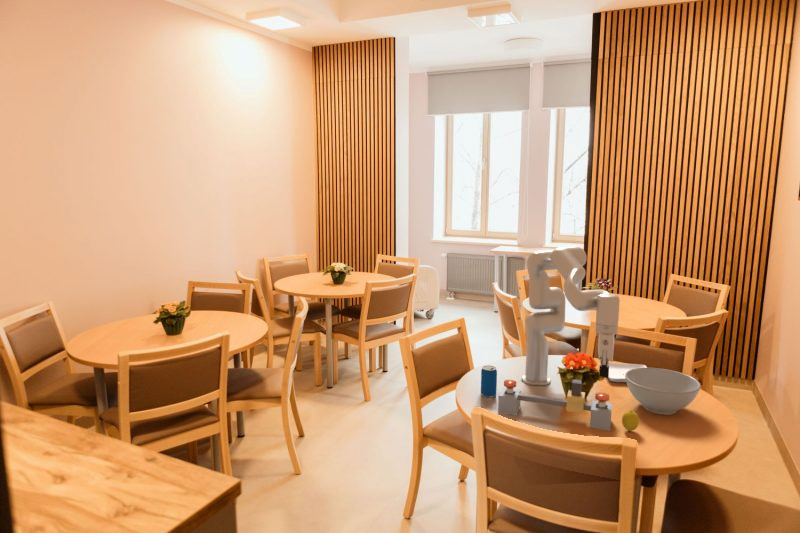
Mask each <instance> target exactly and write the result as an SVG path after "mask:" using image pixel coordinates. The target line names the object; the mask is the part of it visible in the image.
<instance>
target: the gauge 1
mask: <svg viewBox="0 0 800 533" xmlns="http://www.w3.org/2000/svg"><path fill="white" fill-rule="evenodd" d="M503 387H505V388H507V392H506V394H509V395H513V389H515V388H516V387H517V381H516V380H513V379H505V380H503Z"/></svg>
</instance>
